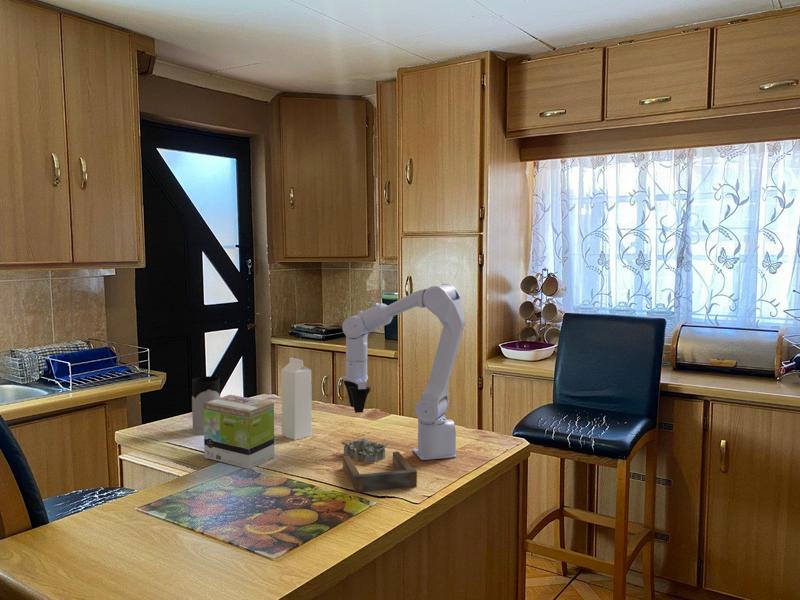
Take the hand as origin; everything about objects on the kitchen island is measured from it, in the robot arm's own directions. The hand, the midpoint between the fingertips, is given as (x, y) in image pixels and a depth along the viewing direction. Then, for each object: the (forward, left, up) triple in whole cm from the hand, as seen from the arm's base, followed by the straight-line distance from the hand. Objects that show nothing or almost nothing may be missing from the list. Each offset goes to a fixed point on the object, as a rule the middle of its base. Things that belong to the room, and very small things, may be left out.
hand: (356, 409), depth 172 cm
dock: (0, +25, -9) cm, 26 cm away
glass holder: (+40, -24, -10) cm, 48 cm away
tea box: (+31, +5, -10) cm, 33 cm away
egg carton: (0, +11, -10) cm, 14 cm away
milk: (+15, -10, -10) cm, 21 cm away
